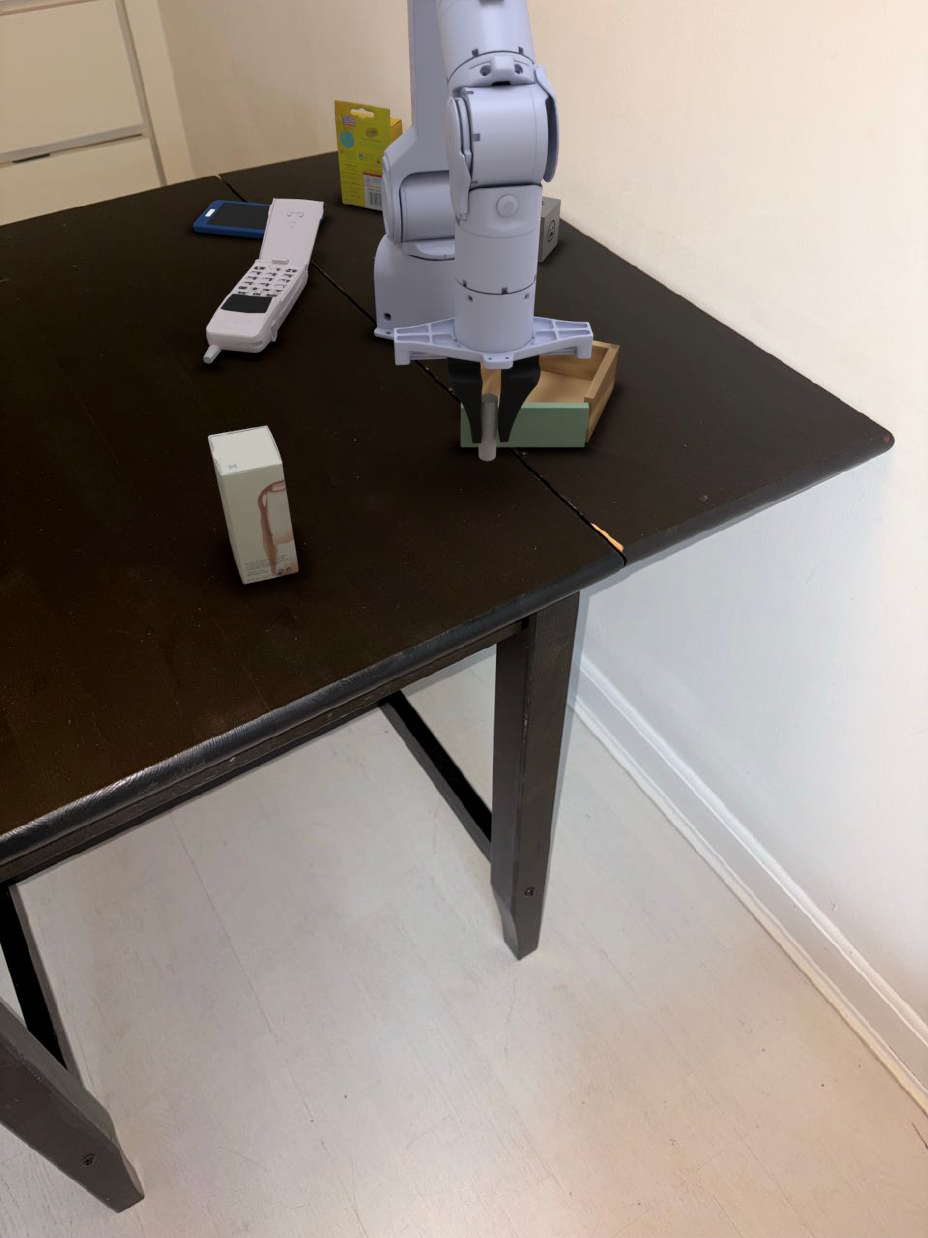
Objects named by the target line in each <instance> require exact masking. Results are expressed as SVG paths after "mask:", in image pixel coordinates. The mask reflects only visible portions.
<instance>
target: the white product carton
mask: <svg viewBox="0 0 928 1238" xmlns="http://www.w3.org/2000/svg"><path fill="white" fill-rule="evenodd" d="M207 439H208V444H209V448H210V453H211V457H212V462H213V467H214V472H215V476H216V480H217V481H216V482H217V486H218V490H219V494H220V499H221V503H222V509H223V515H224V518H225V522H226V527H227V533H228V538H229V542H230V545H231V551H232V553H233V558H234V560H235V564H236V567H237V570H238V574H239V576H240V579H241V581H242V583H243V585H248V584H252V583H257V582H262V581H266V580H270V579H275V578H279V577H280V578H281V577H284V576H288V575H292V574H296V573H298V572H299V564H298V557H297V551H296V544H295V539H294V538H295V537H294V532H293V525H292V519H291V512H290V507H289V506H290V505H289V499H288V494H287V493H288V492H287V487H286V486H287V485H286V480H285V473H284V467H283V460H282V458H281V454H280V451H279V449H278V446H277V444H276V441H275V438H274V437H273V434H272V431H271V430H270V428H269V426H268V425H262V426H258V427H257V426H256V427H251V428H245V429H238V430H233V431H228V432H222V433H217V434H215V433H214V434H211V435H208V436H207Z"/></svg>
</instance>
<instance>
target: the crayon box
mask: <svg viewBox="0 0 928 1238" xmlns="http://www.w3.org/2000/svg"><path fill="white" fill-rule="evenodd" d="M333 103H334V122H335V125H334V126H335V133H336V147H337V156H338V157H337V158H338V169H339V180H340V189H341V190H340V191H341V201H342V202H341V203H342V205H351V206H355V207H361V208H366V209H371V210H376V211H381V212H383V209H382V194H381V180H382V176H383V175H382V157H383V156H384V151H385V150H386V149H387V147H388V146H389V145H391V144H392V143H393V142H394V141H395V140H396V139H398V138H399V137H400V136H401V135H402V134H403V133H404V132H403V120H402V119H401V118H394V117H391V108H389V107H383V106H378V105H371V104H364V103H358V102H352V101H351V102H350V101H345V100H338V99H334V101H333ZM362 109H364V111H365V112H369V113H363V112H358V111H359V110H362ZM352 110H357V111H352ZM370 113H373V114H370Z"/></svg>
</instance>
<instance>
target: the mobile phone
mask: <svg viewBox="0 0 928 1238" xmlns="http://www.w3.org/2000/svg"><path fill="white" fill-rule="evenodd" d="M324 203H325V202H324V201H318V200H317V201H316V200H309V199H297V198H274V197H273V198H272V201H271V204H269V205H270V208H269V212H268V215H269V217H268V221H267V226H266V230H265V234H264V239H262V244H261V248H260V251H259V257H258V259H255V260H254V263H253V264H252V266H251V267H250V268H249V269H248V271H246V273H245V274H244V275H243V276H242V277H241V279H240V280H239V281H238V282H237V284H236V285H235V286H234V288H233V289H232V290H231V291H230V293H228V294H227V295H226V297H225V298H224V299H223V300H222V302H221V304H219V306H218V307H217V309H216V311H215V312H214V314H213V315H212V318H211V319H210V321H209V323H207V325H206V329H205V330H206V334H205V336H206V339H207V342H208V345H209V346H208V348H207V351H206V352H205V353H204V356H203V357H202V358H203V362H204V363H206V364H212V363H213V361H215V359H216V358H217V357H218V356H219V354H220V353H221V352H222V351H233V352H234V351H235V352H243V353H254V354H257V353H260V352H262V351H264V349H266V347H267V346H268V345H269V344H270V343H271V342H273V343H274V342H276V339H277V337H278V331H279V329H280V327H281V326H282V325H283V323H284V321H285V320H286V318H287V316H288V315H289V313H290V312H291V310H292V309H293V307H294V305H295V304H296V302H297V301H298V298H299V297H300V296H301V293H302V292H303V291H304V289H305V287H306V285H307V282H308V278H309V270H308V269H309V264H310V261H311V258H312V253H313V249H314V247H315V246H314V245H315V242H316V238H317V234H318V231H319V227H320V225H319V223H320V219H321V218H322V215H323V212H324ZM320 224H321V223H320Z"/></svg>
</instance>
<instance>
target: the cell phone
mask: <svg viewBox="0 0 928 1238" xmlns="http://www.w3.org/2000/svg"><path fill="white" fill-rule="evenodd" d="M270 205H271V204H267V203H265V204H264V203H255V202H245V201H234V200H233V201H232V200H222V199H217V200H213V201H212V202H211V203H210V204H209V205H208V206H207V207H206V209H205V210H204V211H203V212H202V213H201V214H200V215H199V216H198V218H197V219H196V220H195V221H194V223H193V225H192V227H193V230H194V232H195V233H200V234H209V235H220V236H230V237H240V238H251V239H260V240H263V239H264V234H265V230H266V226H267V221H268V217H269V215H268V212H269V208H270ZM324 219H325V212H324V211H323V215H322V218H321V219H320V223H319V226H320V225H321V223H322V222H323V221H324Z"/></svg>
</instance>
